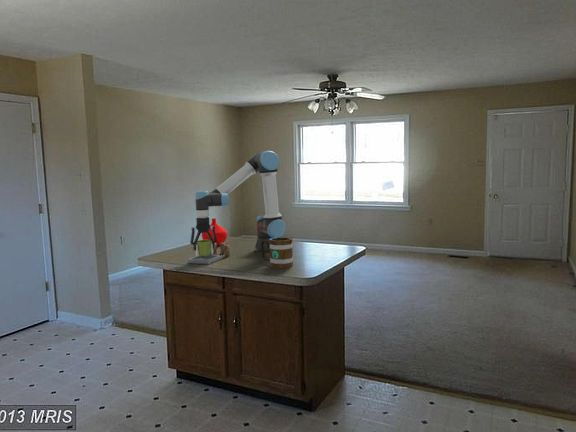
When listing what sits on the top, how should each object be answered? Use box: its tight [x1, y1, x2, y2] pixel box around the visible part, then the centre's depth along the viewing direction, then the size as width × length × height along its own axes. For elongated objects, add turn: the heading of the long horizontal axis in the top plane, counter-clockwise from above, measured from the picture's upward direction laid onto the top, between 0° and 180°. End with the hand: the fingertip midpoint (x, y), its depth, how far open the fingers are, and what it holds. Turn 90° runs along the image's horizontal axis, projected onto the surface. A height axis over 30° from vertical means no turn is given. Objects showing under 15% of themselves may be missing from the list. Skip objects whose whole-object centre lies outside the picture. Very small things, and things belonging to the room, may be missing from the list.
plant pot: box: [197, 239, 212, 256], centre depth 268 cm, size 9×9×9 cm
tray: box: [187, 254, 222, 265], centre depth 269 cm, size 14×14×2 cm
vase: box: [201, 218, 228, 247], centre depth 324 cm, size 18×18×19 cm
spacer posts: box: [210, 242, 231, 258], centre depth 284 cm, size 17×17×7 cm
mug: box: [261, 236, 294, 269], centre depth 253 cm, size 20×14×15 cm
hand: (204, 254), depth 269 cm, fingers closed on plant pot, 8 cm apart
